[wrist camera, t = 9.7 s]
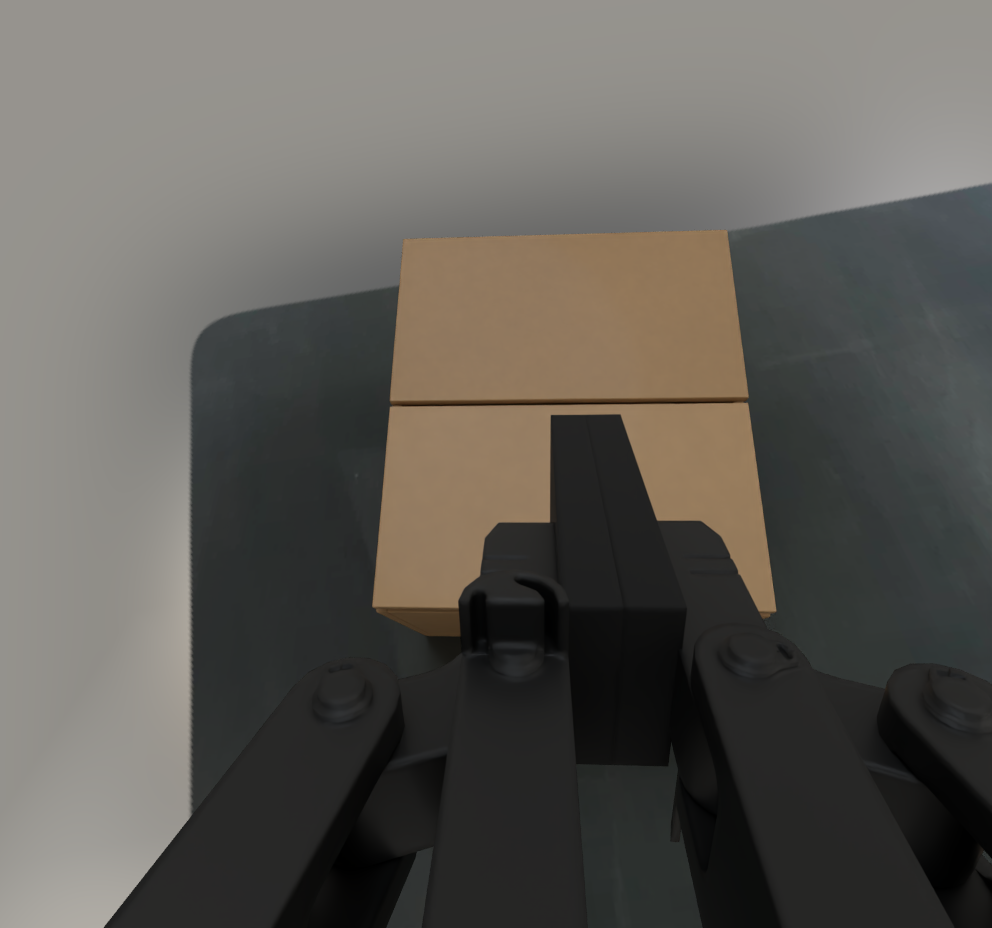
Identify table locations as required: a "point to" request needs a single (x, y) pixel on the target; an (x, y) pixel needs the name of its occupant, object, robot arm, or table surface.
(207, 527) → the table surface
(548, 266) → the carton
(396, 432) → the flap
